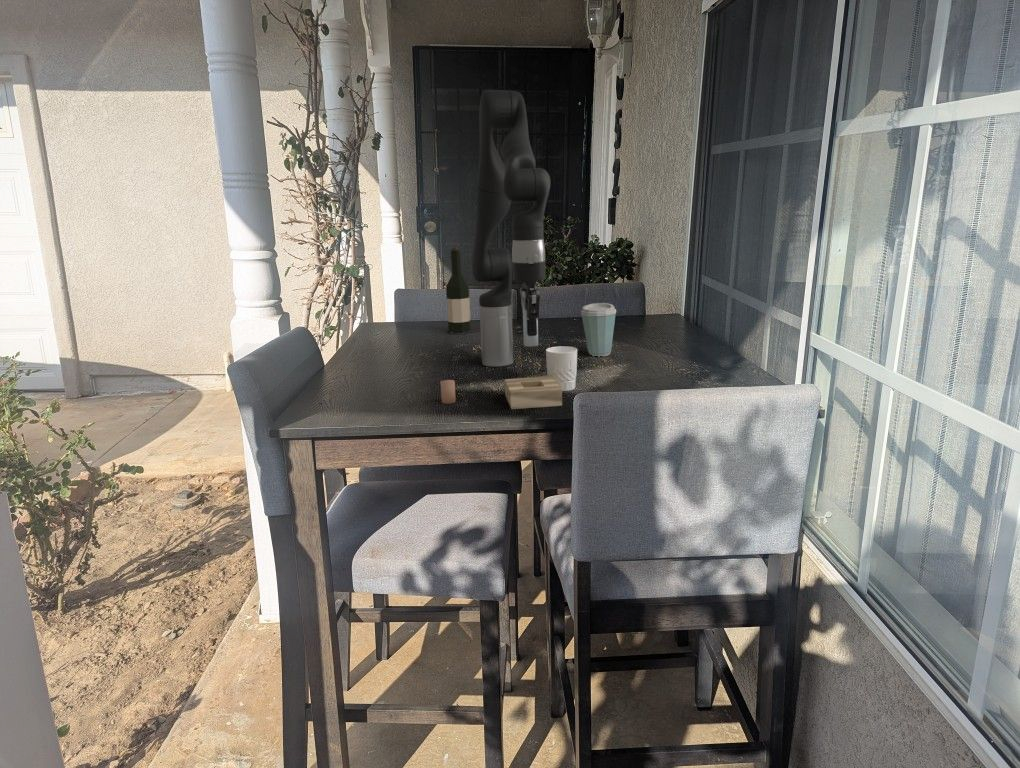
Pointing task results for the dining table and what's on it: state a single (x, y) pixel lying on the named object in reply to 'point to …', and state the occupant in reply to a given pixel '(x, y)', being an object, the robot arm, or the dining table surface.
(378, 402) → the dining table surface
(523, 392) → the hole block
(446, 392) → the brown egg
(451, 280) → the wine bottle
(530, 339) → the long dowel
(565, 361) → the white cup
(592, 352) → the disposable coffee cup
